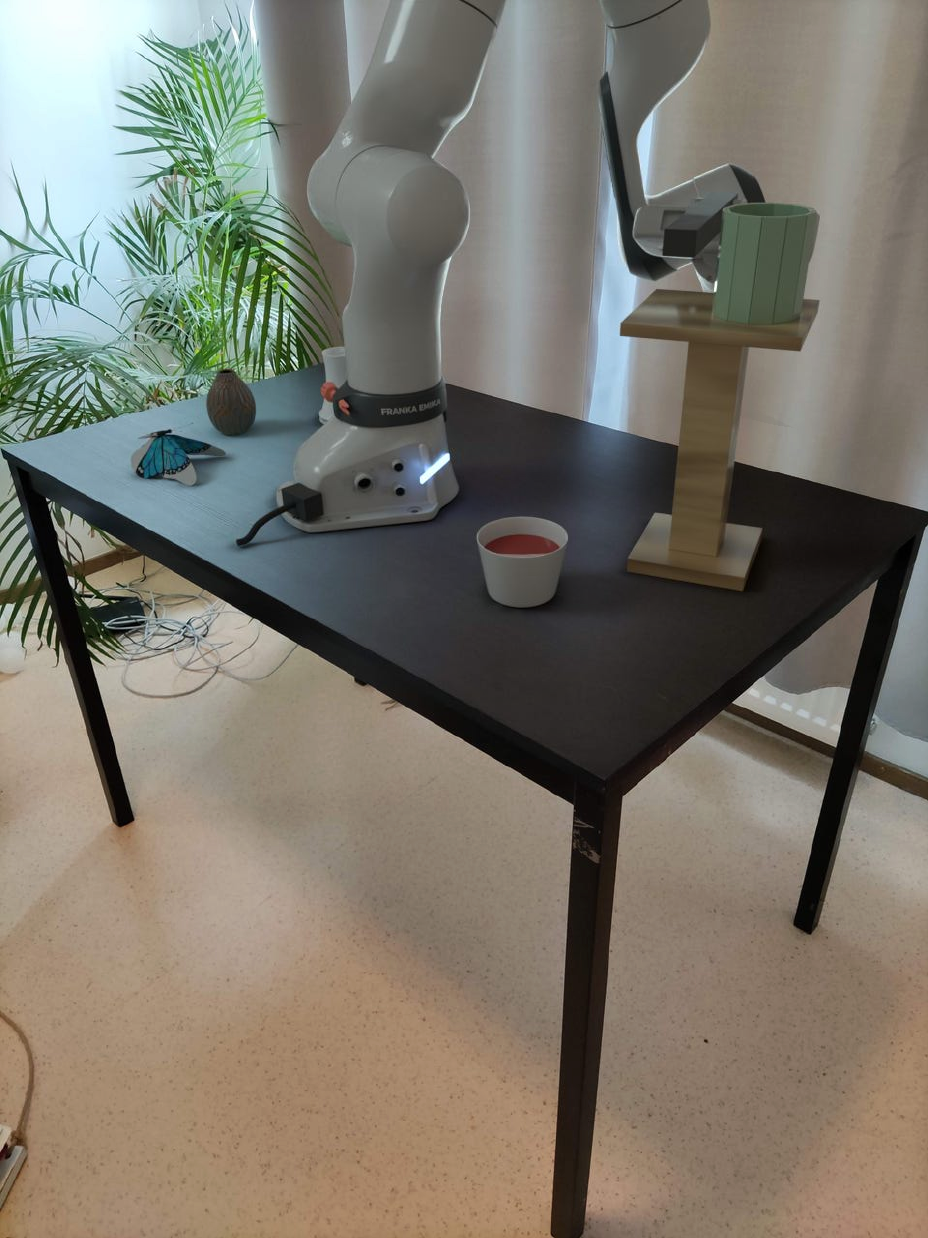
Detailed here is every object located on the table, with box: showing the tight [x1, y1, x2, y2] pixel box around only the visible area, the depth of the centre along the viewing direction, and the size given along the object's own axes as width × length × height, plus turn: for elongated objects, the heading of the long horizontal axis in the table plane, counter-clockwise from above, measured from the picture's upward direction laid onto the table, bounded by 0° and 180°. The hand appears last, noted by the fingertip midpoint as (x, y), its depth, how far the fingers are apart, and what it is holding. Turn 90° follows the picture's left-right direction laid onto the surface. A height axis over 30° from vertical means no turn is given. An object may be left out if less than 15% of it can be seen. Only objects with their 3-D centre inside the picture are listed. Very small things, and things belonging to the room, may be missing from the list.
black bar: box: [662, 193, 738, 258], centre depth 98 cm, size 22×3×2 cm, turn 157°
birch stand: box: [619, 288, 821, 592], centre depth 98 cm, size 14×16×26 cm
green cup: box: [712, 202, 818, 324], centre depth 88 cm, size 8×8×9 cm
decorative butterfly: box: [130, 422, 227, 487], centre depth 129 cm, size 10×6×10 cm
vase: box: [205, 368, 257, 436], centre depth 139 cm, size 7×7×9 cm
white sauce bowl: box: [476, 516, 569, 609], centre depth 98 cm, size 9×9×6 cm
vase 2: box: [318, 346, 347, 425], centre depth 142 cm, size 8×8×10 cm
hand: (717, 205), depth 103 cm, fingers closed on black bar, 3 cm apart
